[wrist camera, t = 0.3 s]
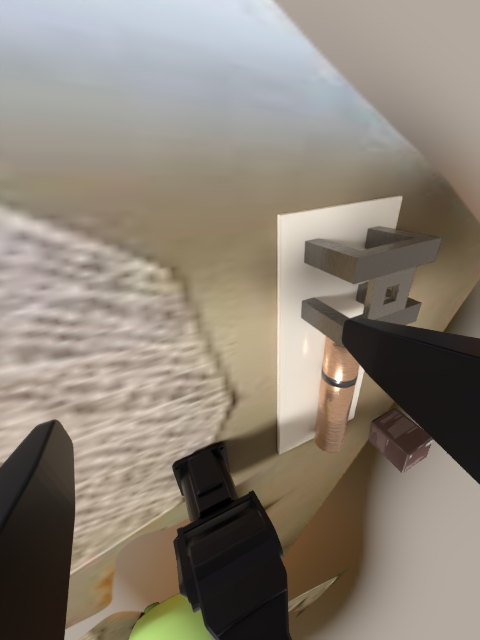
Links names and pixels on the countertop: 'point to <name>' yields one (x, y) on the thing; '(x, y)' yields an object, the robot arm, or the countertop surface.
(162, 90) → the countertop surface
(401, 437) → the box
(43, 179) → the countertop surface
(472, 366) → the robot arm
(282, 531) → the countertop surface
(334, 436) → the tube
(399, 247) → the grey u-shaped bracket
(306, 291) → the slab
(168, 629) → the teapot
